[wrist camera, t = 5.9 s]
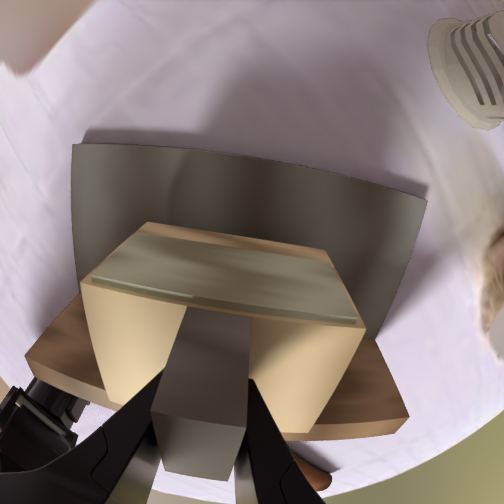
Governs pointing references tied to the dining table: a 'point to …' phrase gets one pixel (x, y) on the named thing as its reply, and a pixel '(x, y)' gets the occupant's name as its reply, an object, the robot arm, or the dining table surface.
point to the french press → (470, 67)
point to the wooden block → (218, 336)
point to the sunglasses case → (314, 474)
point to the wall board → (247, 225)
